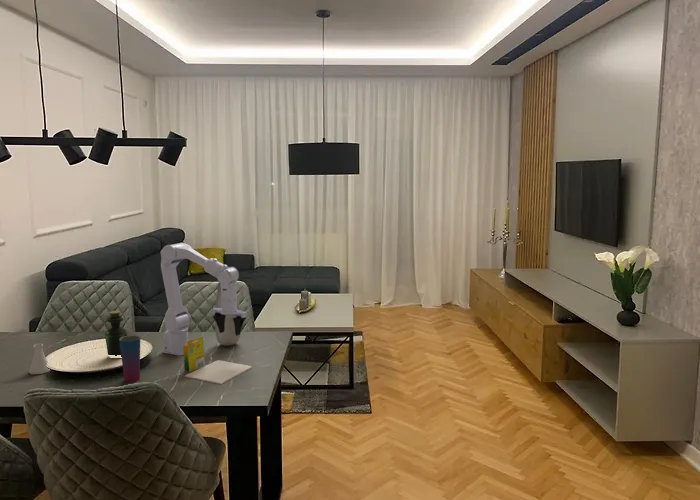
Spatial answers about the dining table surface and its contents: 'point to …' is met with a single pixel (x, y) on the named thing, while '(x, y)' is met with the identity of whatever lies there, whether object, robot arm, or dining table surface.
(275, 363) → the dining table surface
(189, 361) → the crayon box
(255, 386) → the dining table surface
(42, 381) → the dining table surface
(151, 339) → the dining table surface
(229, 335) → the tall grey vase
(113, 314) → the potion bottle
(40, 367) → the flask
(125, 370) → the cup
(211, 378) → the mat
